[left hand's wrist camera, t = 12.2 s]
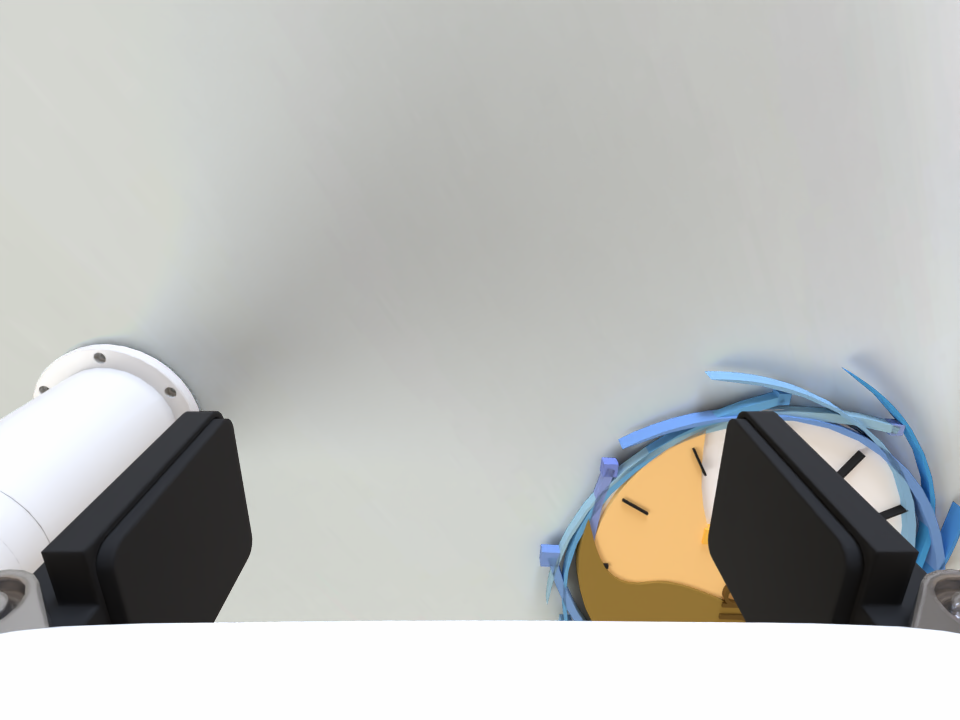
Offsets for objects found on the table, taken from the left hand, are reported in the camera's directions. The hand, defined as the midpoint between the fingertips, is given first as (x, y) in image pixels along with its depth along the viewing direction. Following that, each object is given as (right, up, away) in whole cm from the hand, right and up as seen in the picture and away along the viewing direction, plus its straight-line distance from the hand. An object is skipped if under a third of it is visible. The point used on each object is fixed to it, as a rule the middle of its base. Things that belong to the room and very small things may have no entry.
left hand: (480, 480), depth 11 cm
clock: (+23, -14, +41) cm, 49 cm away
